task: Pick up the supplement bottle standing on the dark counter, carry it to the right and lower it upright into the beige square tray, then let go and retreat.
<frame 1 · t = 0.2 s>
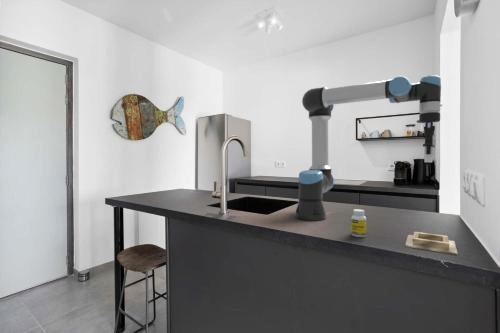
hand: (428, 162, 117), 28 cm above the countertop, tool pointing down, fingers open, 13 cm apart
beige square tray: (430, 244, 92), on the countertop
supplement bottle: (358, 235, 104), on the countertop
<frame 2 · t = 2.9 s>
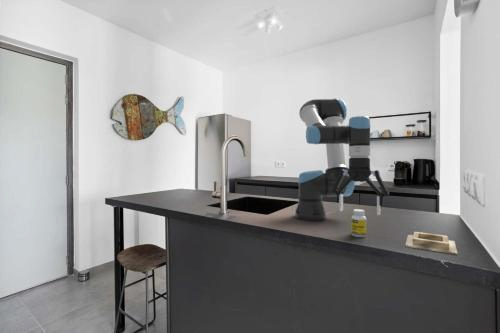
hand: (359, 212, 103), 9 cm above the countertop, tool pointing down, fingers open, 13 cm apart
nothing on the countertop moved.
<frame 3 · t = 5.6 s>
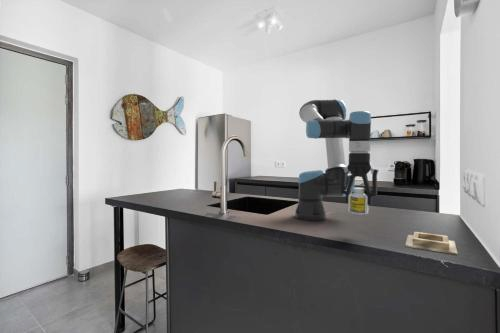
hand: (358, 212, 104), 9 cm above the countertop, tool pointing down, fingers closed on supplement bottle, 5 cm apart
supplement bottle: (358, 213, 104), point 8 cm above the countertop, touching gripper
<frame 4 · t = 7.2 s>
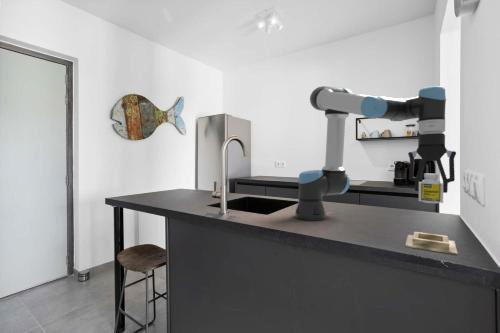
hand: (430, 201, 92), 15 cm above the countertop, tool pointing down, fingers closed on supplement bottle, 5 cm apart
supplement bottle: (430, 202, 92), point 14 cm above the countertop, touching gripper
when the fingers open (3 cm above the countertop, at t = 9.5 s): supplement bottle drops 2 cm, resting on beige square tray.
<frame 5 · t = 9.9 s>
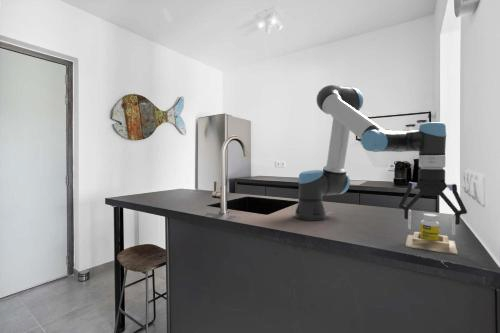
hand: (430, 231, 92), 5 cm above the countertop, tool pointing down, fingers open, 12 cm apart
supplement bottle: (429, 243, 92), resting on beige square tray
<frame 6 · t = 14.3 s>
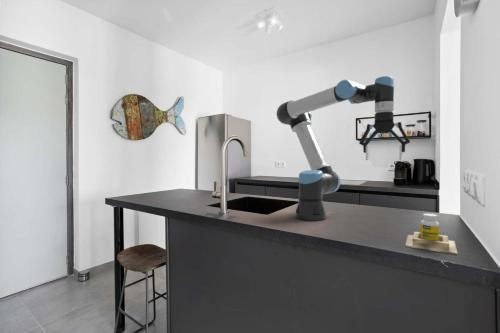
hand: (383, 160, 120), 29 cm above the countertop, tool pointing down, fingers open, 13 cm apart
nothing on the countertop moved.
at the end: supplement bottle 0.3 cm off-centre on the beige square tray, point 0.3 cm above the beige square tray's base; supplement bottle tilted 0°; the gripper is holding nothing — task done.
